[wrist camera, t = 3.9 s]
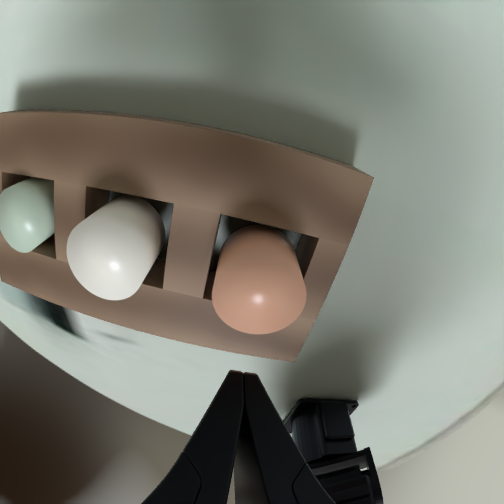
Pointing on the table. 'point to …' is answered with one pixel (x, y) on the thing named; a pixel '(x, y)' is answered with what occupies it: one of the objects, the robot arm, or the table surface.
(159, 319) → the panel
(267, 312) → the button terracotta
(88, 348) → the table surface
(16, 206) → the button sage
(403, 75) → the table surface
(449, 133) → the table surface
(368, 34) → the table surface
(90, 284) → the button cream
